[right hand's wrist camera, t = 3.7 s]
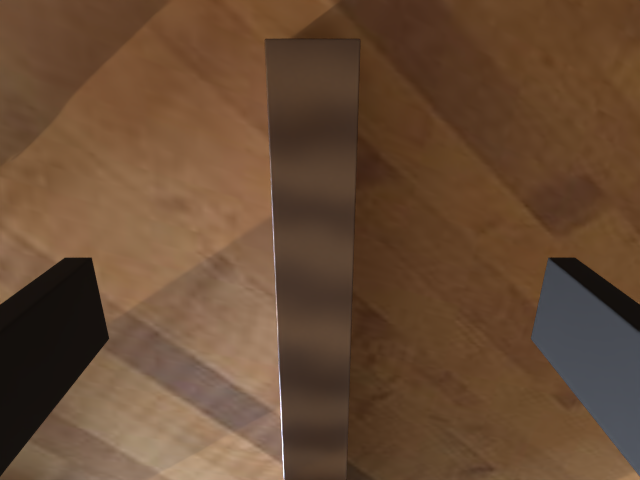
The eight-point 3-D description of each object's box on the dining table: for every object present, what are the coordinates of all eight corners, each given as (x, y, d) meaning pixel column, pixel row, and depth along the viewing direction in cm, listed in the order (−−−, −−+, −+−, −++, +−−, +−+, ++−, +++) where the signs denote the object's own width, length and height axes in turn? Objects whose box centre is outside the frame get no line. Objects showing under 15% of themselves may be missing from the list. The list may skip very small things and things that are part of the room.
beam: (277, 47, 30) (264, 38, 22) (348, 47, 30) (360, 38, 22) (294, 542, 49) (290, 631, 41) (337, 541, 49) (341, 631, 41)
